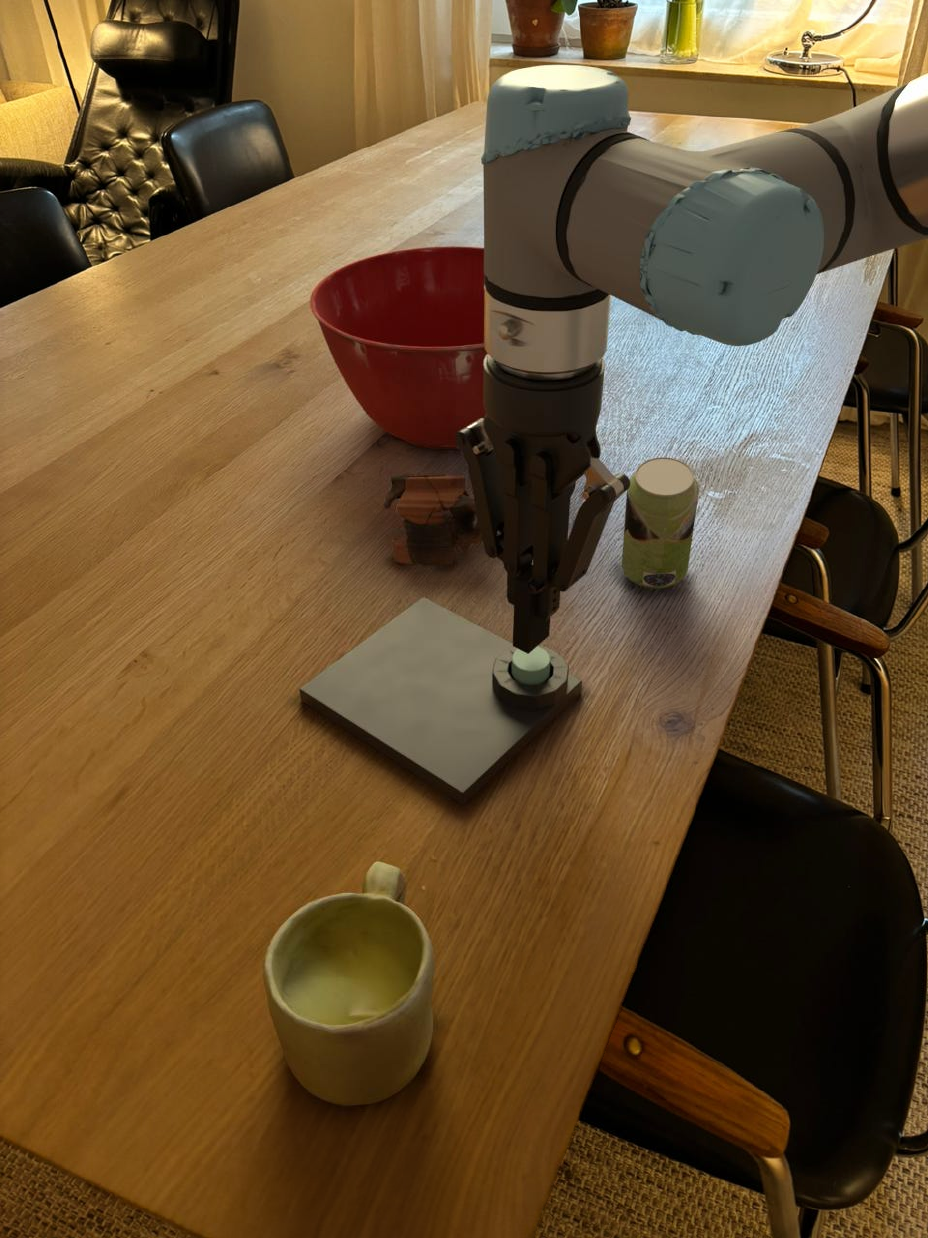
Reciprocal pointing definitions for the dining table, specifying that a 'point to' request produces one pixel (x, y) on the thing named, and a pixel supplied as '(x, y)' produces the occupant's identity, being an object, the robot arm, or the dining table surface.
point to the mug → (353, 991)
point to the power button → (531, 666)
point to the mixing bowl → (410, 339)
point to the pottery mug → (433, 518)
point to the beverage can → (659, 522)
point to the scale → (440, 697)
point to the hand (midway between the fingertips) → (531, 640)
